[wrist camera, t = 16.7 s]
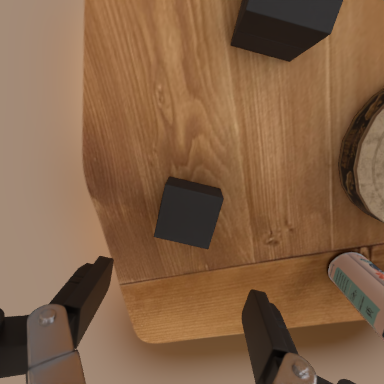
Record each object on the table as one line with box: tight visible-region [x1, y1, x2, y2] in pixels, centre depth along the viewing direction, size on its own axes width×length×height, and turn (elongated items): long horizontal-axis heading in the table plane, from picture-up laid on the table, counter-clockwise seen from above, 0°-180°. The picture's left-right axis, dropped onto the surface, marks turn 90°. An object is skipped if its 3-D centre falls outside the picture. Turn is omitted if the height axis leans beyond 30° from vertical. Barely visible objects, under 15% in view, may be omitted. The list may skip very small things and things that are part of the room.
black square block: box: [231, 0, 306, 61], centre depth 19 cm, size 6×6×4 cm
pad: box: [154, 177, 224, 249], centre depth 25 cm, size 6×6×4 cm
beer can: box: [328, 252, 384, 341], centre depth 23 cm, size 5×5×12 cm
